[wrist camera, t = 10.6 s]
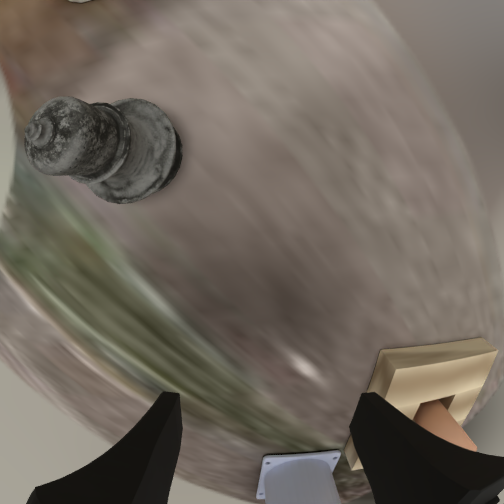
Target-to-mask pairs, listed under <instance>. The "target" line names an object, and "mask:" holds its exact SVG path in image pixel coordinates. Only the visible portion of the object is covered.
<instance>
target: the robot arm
mask: <svg viewBox="0 0 504 504" xmlns="http://www.w3.org/2000/svg"><path fill="white" fill-rule="evenodd" d="M349 428H350V432H351V436H352V440H353V444H354V447H355V450H356V452H357V455H358V457H359V460H360V462H361V464H362V467H363V469H364V471H365V474H366V476H367V479H368V481H369V483H370V486H371V489H372V492H373V495H374V499H375V503H376V504H497V503H498V502H499V501H500V499H499V498H498V496H497V495H498V494H499V493H500V492H501V491H502V490H503V489H504V457H500V456H493V455H487V454H482V453H479V452H475V451H472V450H469V449H466V448H463V447H460V446H458V445H455V444H453V443H450V442H448V441H446V440H444V439H442V438H440V437H438V436H436V435H434V434H433V433H431V432H429V431H428V430H426V429H425V428H423V427H421V426H420V425H418V424H417V423H415V422H414V421H413V420H411V419H410V418H408V417H407V416H406V415H404V414H403V413H402V412H400V411H399V410H398V409H397V408H395V407H394V406H393V405H391V404H390V403H389V402H388V401H386V400H385V399H384V398H382V397H381V396H380V395H378V394H377V393H376V392H369V393H362V394H361V397H360V400H359V402H358V405H357V408H356V411H355V413H354V416H353V419H352V421H351V424H350V426H349ZM182 429H183V427H182V417H181V406H180V395H179V393H173V392H165V391H164V392H162V393H161V394H160V396H159V397H158V399H157V400H156V401H155V403H154V404H153V405H152V406H151V408H150V409H149V410H148V411H147V413H146V414H145V415H144V416H143V417H142V418H141V419H140V421H139V422H138V423H137V424H136V425H135V426H134V427H133V428H132V429H131V430H130V431H129V432H128V433H127V434H126V435H125V436H124V437H123V438H122V439H121V440H120V441H119V442H118V443H116V444H115V445H114V446H113V447H112V448H110V449H109V450H108V451H107V452H105V453H104V454H103V455H101V456H100V457H98V458H97V459H95V460H94V461H92V462H91V463H89V464H88V465H86V466H84V467H82V468H81V469H79V470H77V471H75V472H73V473H71V474H69V475H67V476H65V477H63V478H60V479H58V480H55V481H52V482H50V483H47V484H44V485H41V486H38V487H35V489H34V491H33V492H32V493H31V495H30V497H29V499H28V501H27V503H26V504H167V502H168V496H169V491H170V487H171V483H172V479H173V475H174V472H175V468H176V464H177V460H178V456H179V452H180V446H181V438H182ZM340 455H341V452H340V451H339V450H335V451H326V452H317V453H305V454H290V455H267V456H265V457H263V461H262V467H261V472H260V478H259V483H258V488H257V493H256V498H257V499H265V504H341V501H340V498H339V495H338V491H337V488H336V485H335V481H334V478H333V475H332V472H333V470H334V468H335V466H336V464H337V462H338V460H339V457H340Z"/></svg>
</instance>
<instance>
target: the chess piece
mask: <svg viewBox="0 0 504 504" xmlns="http://www.w3.org/2000/svg"><path fill="white" fill-rule="evenodd" d="M25 150H26V154H27V157H28V159H29V161H30V163H31V165H32V166H33V167H34V168H35V169H36V170H38V171H40V172H42V173H44V174H46V175H53V176H62V175H69V176H70V177H71V178H72V179H73V180H75V181H77V182H79V183H84V184H87V186H88V187H89V188H90V189H91V190H92V191H93V192H94V193H95V194H96V195H97V196H98V197H100V198H102V199H104V200H106V201H107V202H112V203H117V204H125V203H133V202H136V201H139V200H141V199H144V198H146V197H147V196H149V195H150V194H152V193H154V192H157V191H160V190H161V189H162V188H164V187H165V186H167V185H168V184H169V183H170V182H171V180H172V179H173V178H174V177H175V175H176V173H177V172H178V170H179V168H180V164H181V160H182V144H181V140H180V137H179V135H178V133H177V132H176V130H175V129H174V127H173V126H172V123H171V122H170V120H169V118H168V117H167V115H166V114H165V113H164V112H163V111H162V110H161V109H160V108H159V107H157V106H156V105H155V104H153V103H150V102H148V101H146V100H143V99H133V98H130V99H124V100H119V101H116V102H114V103H112V104H108V103H99V102H97V103H93V104H88V103H86V102H84V101H82V100H79V99H77V98H74V97H57V98H53V99H51V100H49V101H48V102H46V103H45V104H43V105H42V106H41V107H40V108H39V109H38V110H37V111H36V112H35V113H34V115H33V116H32V118H31V119H30V121H29V124H28V125H27V126H26V128H25Z"/></svg>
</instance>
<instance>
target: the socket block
mask: <svg viewBox="0 0 504 504" xmlns="http://www.w3.org/2000/svg"><path fill="white" fill-rule="evenodd" d="M497 352H498V350H497V349H496V348H495V347H493V346H492V345H491V344H489V343H488V342H487V341H485V340H484V339H483V338H481V337H480V338H474V339H468V340H462V341H455V342H448V343H441V344H433V345H425V346H416V347H406V348H395V349H383V350H380V353H379V356H378V360H377V363H376V366H375V369H374V373H373V376H372V379H371V382H370V385H369V388H368V390H367V393H369V392H376V393H377V394H378V395H380V396H381V397H382V398H384V399H385V400H386V401H388V402H389V403H390V404H391V405H393V406H394V407H395V408H397V409H398V410H399V411H400V412H402V413H403V414H404V415H406V416H407V417H408V418H410V419H411V420H413V421H414V422H415V420H414V419H413V418H414V416H415V414H416V412H417V410H418V408H419V406H420V403H423V402H428V401H432V400H436V399H438V400H439V401H440V402H441V403H442V405H443V406H444V407H445V408H446V409H447V411H448V412H449V413H450V414H451V415H452V417H453V418H454V419H455V420H456V422H457V423H458V424H459V425H460V427H461V425H462V423H463V422H464V420H465V418H466V416H467V415H468V413H469V411H470V409H471V407H472V406H473V404H474V402H475V400H476V398H477V396H478V394H479V392H480V390H481V388H482V386H483V384H484V382H485V380H486V378H487V375H488V373H489V371H490V369H491V366H492V364H493V362H494V359H495V357H496V355H497ZM415 423H416V422H415ZM344 452H345V455H346V457H347V460H348V463H349V465H350V468H351V471H352V470H357V469H363V467H362V464H361V462H360V460H359V457H358V455H357V452H356V450H355V447H354V444H353V440H352V436H351V435H350V437H349V440H348V442H347V444H346V447H345V449H344Z"/></svg>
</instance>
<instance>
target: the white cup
mask: <svg viewBox="0 0 504 504" xmlns="http://www.w3.org/2000/svg"><path fill="white" fill-rule="evenodd" d="M69 1H70V2H78V3H83V2H87V1H90V0H69Z"/></svg>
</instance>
